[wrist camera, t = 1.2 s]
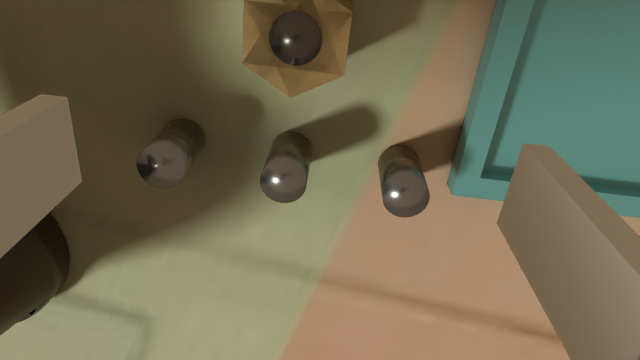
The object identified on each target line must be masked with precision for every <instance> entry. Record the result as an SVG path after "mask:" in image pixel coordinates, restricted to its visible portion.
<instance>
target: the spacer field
mask: <svg viewBox="0 0 640 360" xmlns="http://www.w3.org/2000/svg"><path fill="white" fill-rule="evenodd" d="M203 146H204V135H203V133H202V131H201V129H200V128H199V127H198V126H197V125H196V124H195V123H193V122H192V121H189V120H186V119H176V120H173V121H171V122H170V123H169V124H168V125H167V126H166V127H165V128H164V129H163V130H162V131H161V132H160V133H159V134H158V135H157V136H156V137H155V138H154V139H153V141H152V142H151V143H150V144H149V145H148V146H147V147H146V148H145V149H144V150H143V151H142V152H141V153H140V155H139V156H138V159H137V168H138V171H139V173H140V175H141V177H142V178H143V179H144V180H145V181H146V182H147V183H149V184H150V185H152V186H155V187H158V188H170V187H173V186H175V185H177V184H178V183H179V182H180V181H181V179H182V178H183V176H184V175H185V173H186V172H187V170H188V169H189V167H190V166H191V164H192V163H193V162H194V160H195V159H196V157H197V156H198V154H199V153H200V151H201V150H202V148H203ZM311 154H312V149H311V145H310V143H309V141H308V140H307V139H306V138H305V137H304V136H302V135H300V134H298V133H294V132H287V133H283V134H281V135H279V136H278V137H277V138H276V139H275V140H274V142H273V144H272V146H271V149H270V152H269V155H268V157H267V160H266V163H265V166H264V169H263V171H262V174H261V177H260V184H261V188H262V190H263V192H264V193H265V194H266V195H267V196H268V197H269V198H270V199H272V200H274V201H277V202H281V203H289V202H293V201H295V200H297V199H299V198H300V197H301V196H302V195H303V193H304V192H305V189H306V184H307V178H308V172H309V166H310V160H311ZM378 168H379V176H380V183H381V190H382V198H383V203H384V206H385V208H386V209H387V210H388V211H389V212H390V213H392V214H393V215H395V216H399V217H411V216H414V215H417V214H419V213H420V212H422V211H423V210H424V209H425V208H426V206H427V204H428V202H429V198H430V194H429V190H428V187H427V184H426V181H425V177H424V174H423V171H422V168H421V165H420V162H419V159H418V156H417V154H416V153H415V152H414V151H413V150H412V149H411V148H409V147H407V146H402V145H397V146H393V147H390V148H388V149H386V150H385V151H384V152H383V153H382V154H381V156H380V158H379V161H378Z"/></svg>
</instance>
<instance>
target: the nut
mask: <svg viewBox="0 0 640 360" xmlns="http://www.w3.org/2000/svg"><path fill="white" fill-rule="evenodd" d="M352 15H353V10H352V2H350V1H349V0H244V16H243V51H242V63H243V64H244V65H246V66H247V67H249V68H250V69H252V70H253V71H254V72H256V73H257V74H259V75H260V76H261V77H263V78H264V79H266V80H267V81H268V82H270V83H271V84H273V85H274V86H275V87H277V88H278V89H280V90H281V91H282V92H284V93H285V94H287V95H288V96H289V97H294V96H296V95H298V94H301V93H303V92H306V91H308V90H310V89H313V88H315V87H318V86H320V85H322V84H325V83H327V82H329V81H332V80H334V79H337V78H339V77H341V76H344V74H345V67H346V59H347V52H348V44H349V37H350V30H351V22H352Z"/></svg>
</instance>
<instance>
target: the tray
mask: <svg viewBox="0 0 640 360" xmlns="http://www.w3.org/2000/svg"><path fill="white" fill-rule="evenodd" d="M523 143H525V144H535V145H545V146H550V147H551V148H552V149H553V150H554V151H555V152H556V153H557V154H558V155H559V156H560V157H561V158H562V159H563V160H564V161H565V162H566V163H567V164H568V165H569V166H570V167H571V168H572V169H573V170H574V171H575V172H576V173H577V174H578V175H579V176H580V177H581V178H582V179H583V180H584V181H585V182H586V183H587V184H588V185H589V186H590V187H591V188H592V189H593V190H594V191H595V192H596V193H597V194H598V195H599V196H600V197H601V198H602V199H603V200H604V201H605V202H606V203H607V204H608V205H609V206H610V207H611V208H612V209H613V210H614V211H615V212H616V213H617V214H618V215H622V216H630V217H639V218H640V0H497V1H496V5H495V9H494V12H493V16H492V20H491V23H490V27H489V31H488V34H487V38H486V42H485V45H484V49H483V53H482V56H481V60H480V64H479V68H478V71H477V75H476V79H475V82H474V86H473V90H472V93H471V97H470V101H469V104H468V108H467V112H466V115H465V119H464V123H463V126H462V130H461V134H460V137H459V141H458V145H457V148H456V152H455V156H454V159H453V163H452V167H451V170H450V174H449V178H448V181H447V184H448V187H449V189H450V192H451V194H452V195H456V196H465V197H473V198H481V199H489V200H498V201H504V200H505V197H506V194H507V191H508V188H509V185H510V181H511V178H512V175H513V172H514V169H515V166H516V163H517V160H518V157H519V154H520V151H521V148H522V145H523Z"/></svg>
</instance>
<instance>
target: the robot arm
mask: <svg viewBox="0 0 640 360" xmlns="http://www.w3.org/2000/svg"><path fill="white" fill-rule="evenodd" d="M81 182H82V178H81V173H80V167H79V161H78V155H77V149H76V143H75V138H74V132H73V126H72V120H71V114H70V108H69V103H68V97H63V96H53V95H43V94H40V95H38V96H36V97H35V98H33V99H31V100H29V101H27V102H25V103H23V104H21V105H19V106H17V107H15V108H13V109H12V110H10V111H8V112H6V113H4V114H2V115H0V335H1V334H3V333H4V332H5V331H7V330H8V329H9V328H11V327H12V326H13V325H14V324H15V323H18V322H21V321H23V320H25V319H27V318H29V317H31V316H33V315H34V314H36V313H37V312H39V311H40V310H41V309H42V308H43V307H44V306H45V305H46V304H47V303H48V302H49V301H50V300H51V298H52V297H53V296H54V295H55V294H56V292H57V291H58V290H59V289H60V288H61V286H62V285H63V283H64V281H65V279H66V276H67V273H68V268H69V254H68V249H67V245H66V242H65V239H64V237H63V234H62V232H61V230H60V228H59V227H58V225H57V223H56V222H55V220H54V219H53V218H52V216H51V215H50V214H49V212H50V211H51V210H52V209H53V208H55V207H56V206H57V205H58V204H59V203H60V202H61V201H62V200H63V199H64V198H65V197H66V196H67V195H68V194H69V193H70V192H72V191H73V190H74V189H75V188H76V187H77V186H78V185H79V184H80V183H81ZM497 224H498V226H499V228H500V230H501V232H502V234H503V235H504V237H505V239H506V241H507V243H508V245H509V246H510V248H511V250H512V252H513V254H514V256H515V258H516V259H517V261H518V263H519V265H520V267H521V269H522V270H523V272H524V274H525V276H526V278H527V280H528V281H529V283H530V285H531V287H532V289H533V291H534V292H535V294H536V296H537V298H538V300H539V302H540V304H541V305H542V307H543V309H544V311H545V313H546V315H547V316H548V318H549V320H550V322H551V324H552V326H553V327H554V329H555V331H556V333H557V335H558V337H559V338H560V340H561V342H562V344H563V346H564V348H565V350H566V351H567V353H568V355H569V357H570V359H571V360H640V236H639V235H638V234H637V233H636V232H635V231H634V230H633V229H632V228H631V227H630V226H629V225H628V224H627V223H626V222H625V221H624V220H623V219H622V218H621V217H620V216H619V215H618V214H617V213H616V212H615V211H614V210H613V209H612V208H611V207H610V206H609V205H608V204H607V203H606V202H605V201H604V200H603V199H602V198H601V197H600V196H599V195H598V194H597V193H596V192H595V191H594V190H593V189H592V188H591V187H590V186H589V185H588V184H587V183H586V182H585V181H584V180H583V179H582V178H581V177H580V176H579V175H578V174H577V173H576V172H575V171H574V170H573V169H572V168H571V167H570V166H569V165H568V164H567V163H566V162H565V161H564V160H563V159H562V158H561V157H560V156H559V155H558V154H557V153H556V152H555V151H554V150H553V149H552V148H551V147H550V146H545V145H535V144H525V143H523V145H522V148H521V151H520V154H519V157H518V160H517V163H516V166H515V169H514V172H513V175H512V178H511V181H510V185H509V188H508V191H507V194H506V197H505V200H504V203H503V206H502V209H501V212H500V215H499V218H498V221H497Z"/></svg>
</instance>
